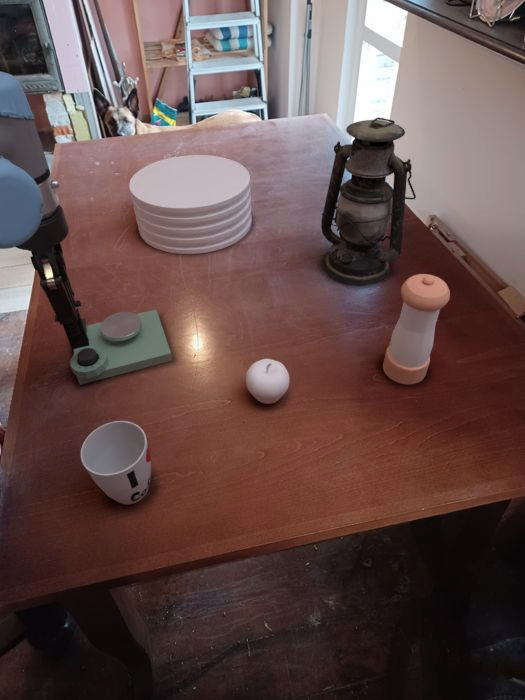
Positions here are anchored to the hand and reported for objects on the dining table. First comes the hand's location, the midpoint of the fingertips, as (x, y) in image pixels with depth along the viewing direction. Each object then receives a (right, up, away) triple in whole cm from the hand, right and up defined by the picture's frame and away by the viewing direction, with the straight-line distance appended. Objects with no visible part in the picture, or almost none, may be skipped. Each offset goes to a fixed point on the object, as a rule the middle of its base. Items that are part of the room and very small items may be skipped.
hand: (80, 344), depth 78 cm
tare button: (0, -3, +3) cm, 4 cm away
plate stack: (+13, +31, +42) cm, 53 cm away
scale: (+4, -1, +10) cm, 10 cm away
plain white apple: (+31, -8, +1) cm, 32 cm away
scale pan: (+2, +3, +8) cm, 9 cm away
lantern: (+51, +19, +29) cm, 62 cm away
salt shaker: (+54, -4, +5) cm, 55 cm away
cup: (+11, -20, -11) cm, 26 cm away
